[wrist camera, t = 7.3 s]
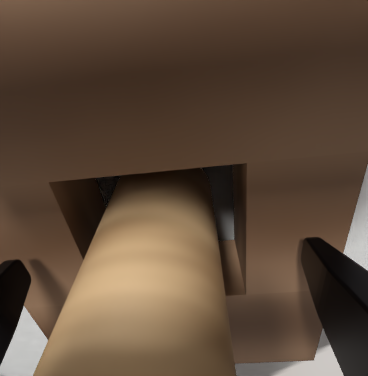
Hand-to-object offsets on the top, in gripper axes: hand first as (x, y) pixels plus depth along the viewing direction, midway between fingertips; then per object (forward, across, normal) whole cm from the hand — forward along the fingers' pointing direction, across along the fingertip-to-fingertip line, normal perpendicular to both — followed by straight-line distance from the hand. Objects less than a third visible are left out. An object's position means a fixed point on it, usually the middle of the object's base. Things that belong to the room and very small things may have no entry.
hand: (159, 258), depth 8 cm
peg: (+4, 0, 0) cm, 4 cm away
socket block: (+4, 0, 0) cm, 4 cm away
